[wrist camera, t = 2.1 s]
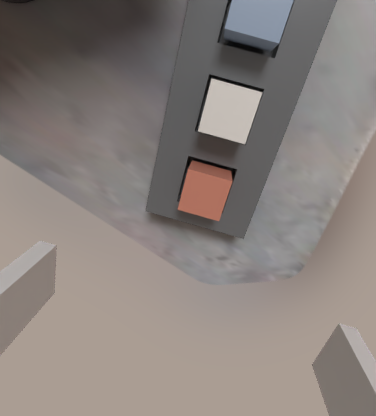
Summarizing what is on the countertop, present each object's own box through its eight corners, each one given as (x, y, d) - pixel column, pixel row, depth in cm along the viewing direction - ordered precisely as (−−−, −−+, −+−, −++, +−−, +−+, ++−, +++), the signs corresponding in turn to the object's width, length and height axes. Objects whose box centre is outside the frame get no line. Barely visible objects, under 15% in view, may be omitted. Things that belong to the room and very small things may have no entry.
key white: (201, 127, 27) (197, 131, 24) (213, 81, 26) (211, 78, 22) (241, 138, 27) (244, 144, 24) (256, 93, 25) (262, 92, 22)
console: (153, 199, 35) (145, 211, 31) (207, -53, 24) (205, -80, 21) (241, 223, 34) (243, 238, 31) (332, -19, 24) (352, -40, 20)
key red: (182, 196, 30) (177, 209, 27) (192, 160, 29) (188, 169, 25) (219, 206, 30) (218, 221, 27) (231, 170, 29) (232, 181, 25)
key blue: (224, 39, 24) (224, 28, 20) (239, -20, 22) (243, -44, 19) (270, 52, 24) (279, 43, 20) (289, -6, 22) (302, -27, 19)
